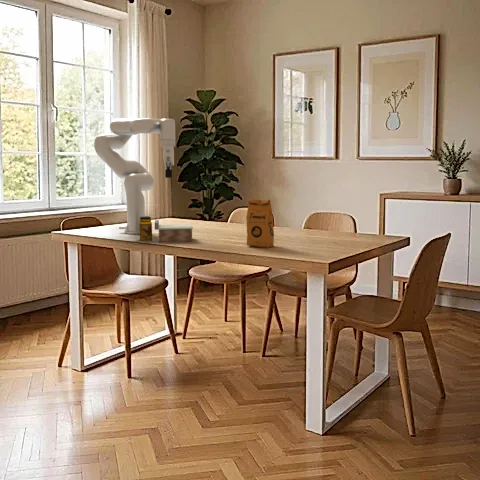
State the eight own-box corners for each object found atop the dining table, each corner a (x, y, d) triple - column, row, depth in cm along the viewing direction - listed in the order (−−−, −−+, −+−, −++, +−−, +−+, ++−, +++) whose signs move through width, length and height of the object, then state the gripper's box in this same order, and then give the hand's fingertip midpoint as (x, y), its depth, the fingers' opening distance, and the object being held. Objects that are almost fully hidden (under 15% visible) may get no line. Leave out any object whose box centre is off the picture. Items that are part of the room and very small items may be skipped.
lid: (154, 229, 300) (154, 223, 300) (155, 226, 313) (155, 220, 312) (192, 229, 302) (192, 222, 302) (192, 225, 314) (191, 219, 314)
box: (158, 242, 302) (158, 230, 301) (159, 238, 314) (159, 227, 313) (192, 241, 303) (192, 229, 302) (191, 238, 315) (191, 226, 314)
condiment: (149, 242, 303) (148, 217, 301) (133, 241, 305) (132, 217, 304) (155, 240, 310) (154, 216, 308) (139, 239, 312) (139, 215, 310)
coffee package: (267, 249, 281) (268, 200, 278) (243, 247, 287) (243, 199, 284) (277, 246, 290) (277, 198, 287) (253, 244, 296) (253, 197, 293)
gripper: (175, 143, 310) (176, 177, 312) (175, 143, 327) (176, 176, 329) (160, 143, 309) (160, 178, 312) (161, 143, 326) (161, 176, 329)
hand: (168, 177), depth 320 cm, fingers open, 9 cm apart
